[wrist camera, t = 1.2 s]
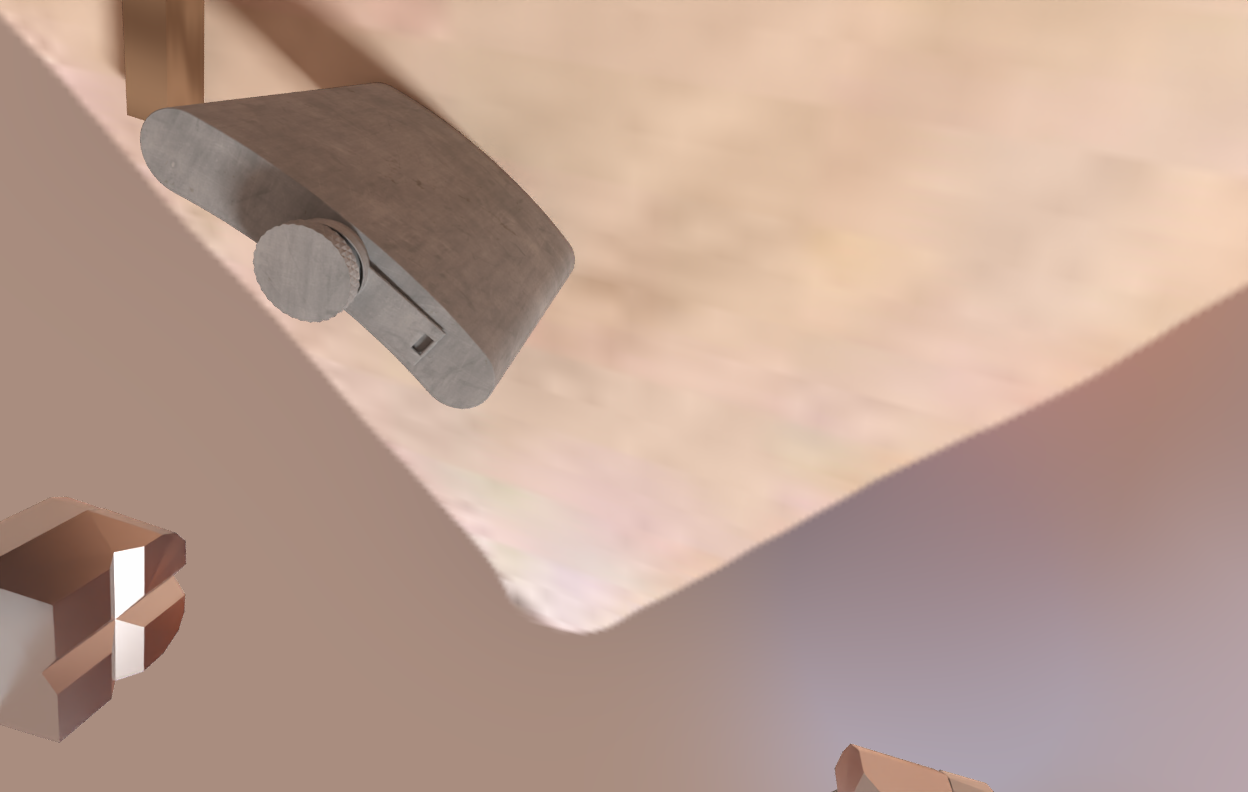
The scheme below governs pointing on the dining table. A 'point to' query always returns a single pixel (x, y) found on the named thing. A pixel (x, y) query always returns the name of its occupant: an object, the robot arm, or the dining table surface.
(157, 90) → the spatula
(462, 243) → the hip flask
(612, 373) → the dining table surface
